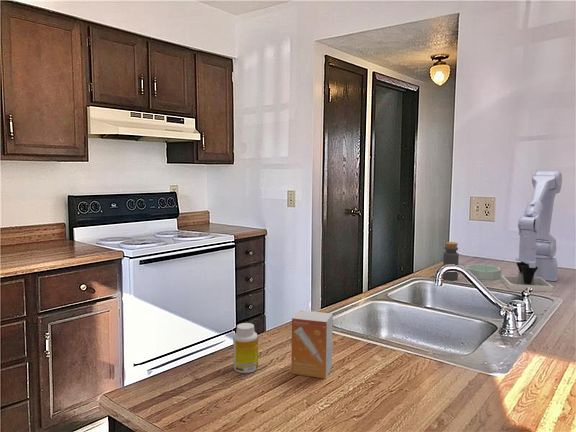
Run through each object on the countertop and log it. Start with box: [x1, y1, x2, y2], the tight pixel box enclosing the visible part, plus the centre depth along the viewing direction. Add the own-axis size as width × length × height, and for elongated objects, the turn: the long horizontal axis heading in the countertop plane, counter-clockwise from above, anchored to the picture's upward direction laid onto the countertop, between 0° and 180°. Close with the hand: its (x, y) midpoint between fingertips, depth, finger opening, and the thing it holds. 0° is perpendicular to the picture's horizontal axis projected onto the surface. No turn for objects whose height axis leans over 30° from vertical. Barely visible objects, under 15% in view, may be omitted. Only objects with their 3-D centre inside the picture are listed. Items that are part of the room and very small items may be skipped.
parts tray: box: [500, 275, 554, 293], centre depth 180 cm, size 15×15×2 cm
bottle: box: [442, 241, 459, 282], centre depth 190 cm, size 6×6×15 cm
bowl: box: [464, 263, 502, 281], centre depth 196 cm, size 13×13×4 cm
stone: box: [517, 271, 535, 285], centre depth 179 cm, size 4×4×5 cm
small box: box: [290, 309, 334, 380], centre depth 105 cm, size 8×6×13 cm
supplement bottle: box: [232, 322, 259, 374], centre depth 106 cm, size 6×6×10 cm
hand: (525, 282), depth 179 cm, fingers closed on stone, 4 cm apart
